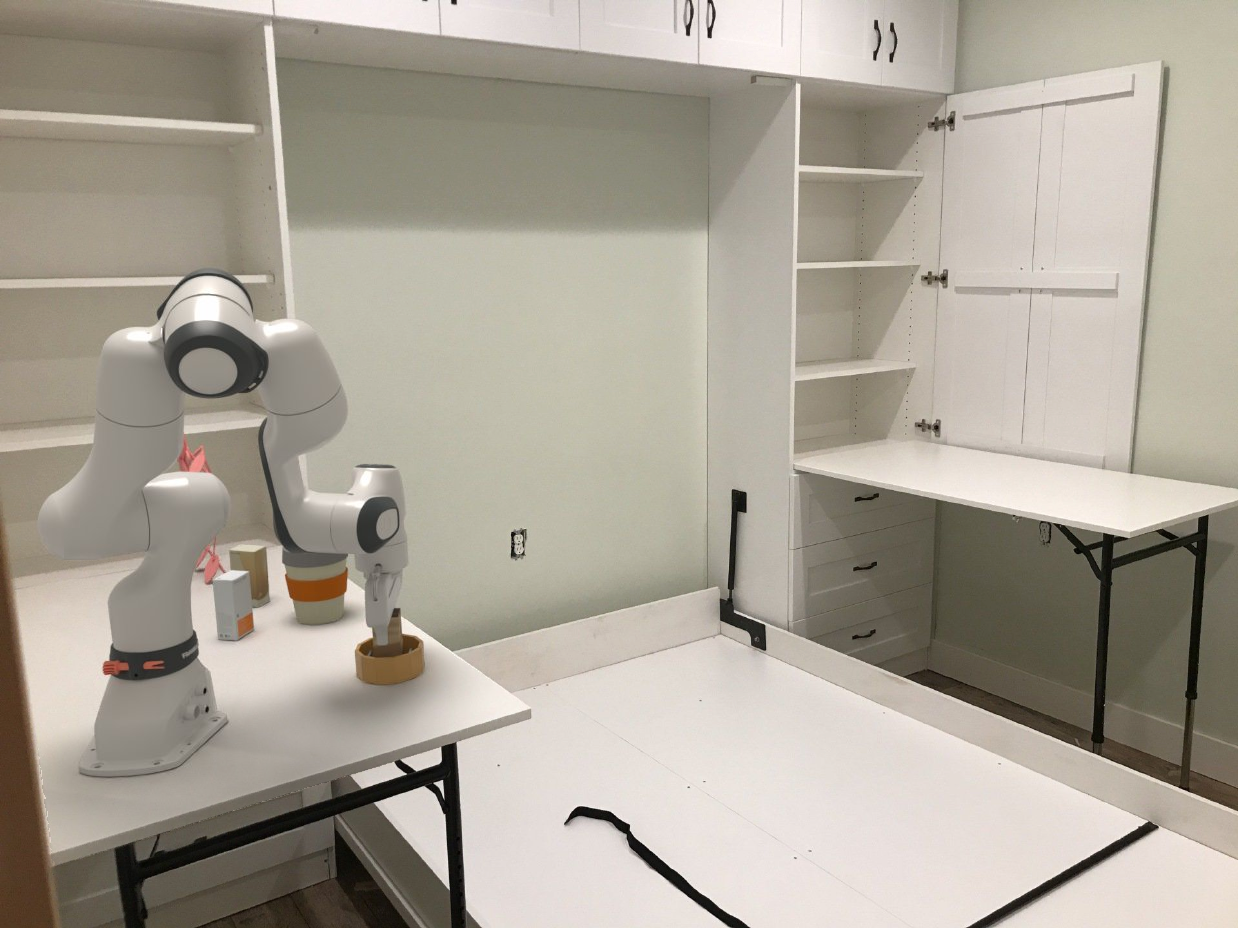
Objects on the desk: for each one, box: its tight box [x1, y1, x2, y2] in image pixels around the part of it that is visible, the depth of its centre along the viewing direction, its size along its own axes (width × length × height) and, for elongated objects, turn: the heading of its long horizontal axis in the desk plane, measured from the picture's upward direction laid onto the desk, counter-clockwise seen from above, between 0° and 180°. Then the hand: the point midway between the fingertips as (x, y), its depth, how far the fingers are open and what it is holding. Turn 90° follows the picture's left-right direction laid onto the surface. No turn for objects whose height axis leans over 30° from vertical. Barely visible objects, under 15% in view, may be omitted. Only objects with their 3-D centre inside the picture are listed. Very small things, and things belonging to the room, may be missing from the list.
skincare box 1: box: [228, 543, 271, 608], centre depth 204 cm, size 6×4×12 cm
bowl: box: [354, 633, 426, 685], centre depth 169 cm, size 11×11×4 cm
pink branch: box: [176, 434, 227, 584], centre depth 219 cm, size 15×26×35 cm, turn 31°
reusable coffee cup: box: [281, 546, 349, 626], centre depth 195 cm, size 13×13×15 cm
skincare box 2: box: [212, 569, 255, 642], centre depth 187 cm, size 6×4×12 cm
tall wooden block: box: [371, 607, 403, 658], centre depth 169 cm, size 3×4×10 cm, turn 95°
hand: (386, 633), depth 169 cm, fingers open, 8 cm apart
